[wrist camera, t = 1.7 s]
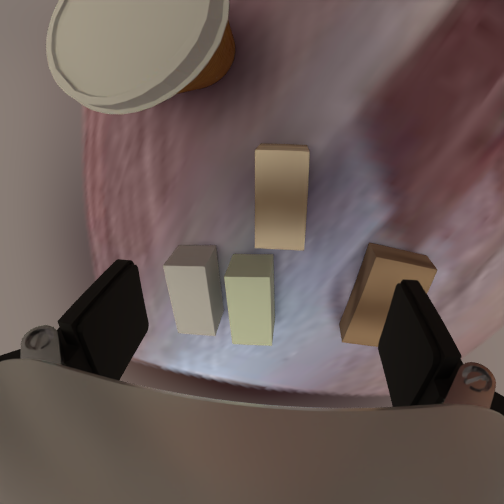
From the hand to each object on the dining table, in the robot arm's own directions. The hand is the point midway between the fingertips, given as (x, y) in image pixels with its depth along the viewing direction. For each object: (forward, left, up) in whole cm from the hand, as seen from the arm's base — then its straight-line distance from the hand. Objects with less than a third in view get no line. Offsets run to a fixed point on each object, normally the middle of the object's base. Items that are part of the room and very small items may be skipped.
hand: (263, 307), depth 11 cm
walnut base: (+9, +10, -16) cm, 21 cm away
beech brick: (0, 0, -15) cm, 15 cm away
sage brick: (+9, -2, -15) cm, 18 cm away
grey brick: (+9, -7, -15) cm, 19 cm away
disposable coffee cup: (-11, -7, -15) cm, 20 cm away
